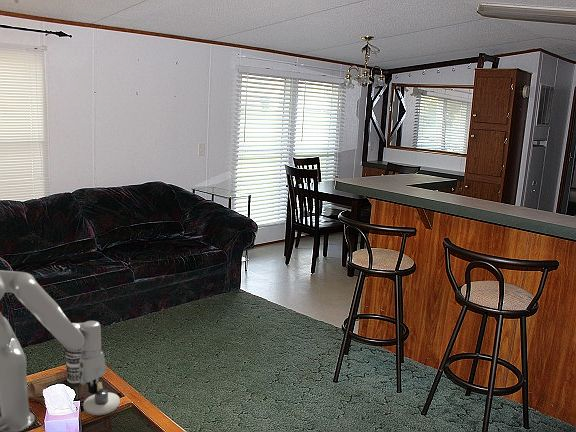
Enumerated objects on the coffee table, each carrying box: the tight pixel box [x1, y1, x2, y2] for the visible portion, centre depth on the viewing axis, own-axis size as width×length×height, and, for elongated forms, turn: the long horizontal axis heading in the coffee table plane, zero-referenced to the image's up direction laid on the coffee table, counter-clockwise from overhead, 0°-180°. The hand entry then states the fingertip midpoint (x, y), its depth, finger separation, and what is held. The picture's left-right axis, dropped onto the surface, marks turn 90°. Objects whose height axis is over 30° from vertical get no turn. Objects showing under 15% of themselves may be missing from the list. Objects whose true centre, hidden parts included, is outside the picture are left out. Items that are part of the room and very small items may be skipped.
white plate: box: [83, 391, 121, 416], centre depth 222 cm, size 14×14×2 cm
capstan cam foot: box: [95, 381, 109, 405], centre depth 224 cm, size 10×5×5 cm, turn 25°
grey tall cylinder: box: [64, 347, 81, 384], centre depth 238 cm, size 9×9×25 cm
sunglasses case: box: [27, 382, 49, 404], centre depth 226 cm, size 18×7×7 cm, turn 74°
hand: (92, 392), depth 224 cm, fingers closed
